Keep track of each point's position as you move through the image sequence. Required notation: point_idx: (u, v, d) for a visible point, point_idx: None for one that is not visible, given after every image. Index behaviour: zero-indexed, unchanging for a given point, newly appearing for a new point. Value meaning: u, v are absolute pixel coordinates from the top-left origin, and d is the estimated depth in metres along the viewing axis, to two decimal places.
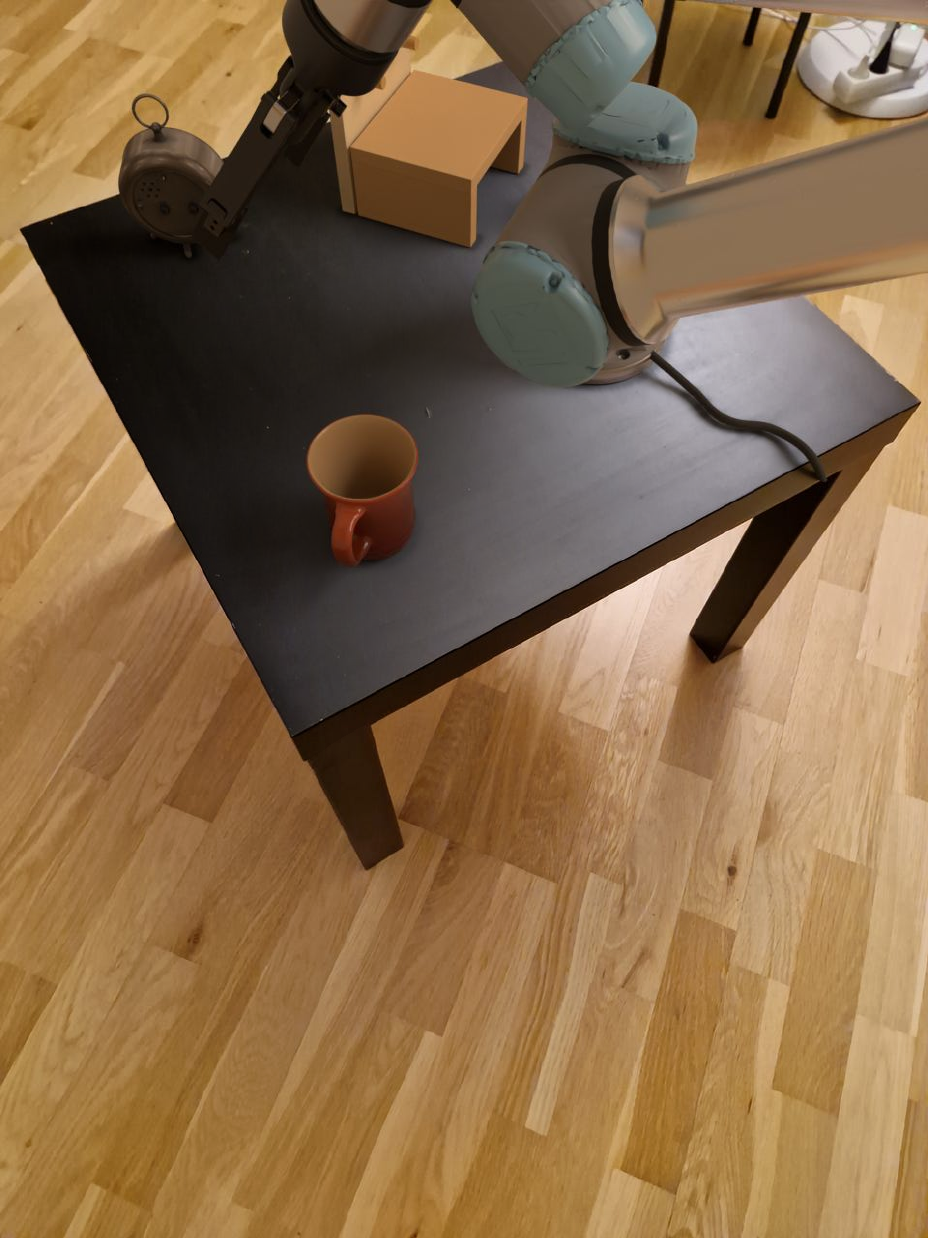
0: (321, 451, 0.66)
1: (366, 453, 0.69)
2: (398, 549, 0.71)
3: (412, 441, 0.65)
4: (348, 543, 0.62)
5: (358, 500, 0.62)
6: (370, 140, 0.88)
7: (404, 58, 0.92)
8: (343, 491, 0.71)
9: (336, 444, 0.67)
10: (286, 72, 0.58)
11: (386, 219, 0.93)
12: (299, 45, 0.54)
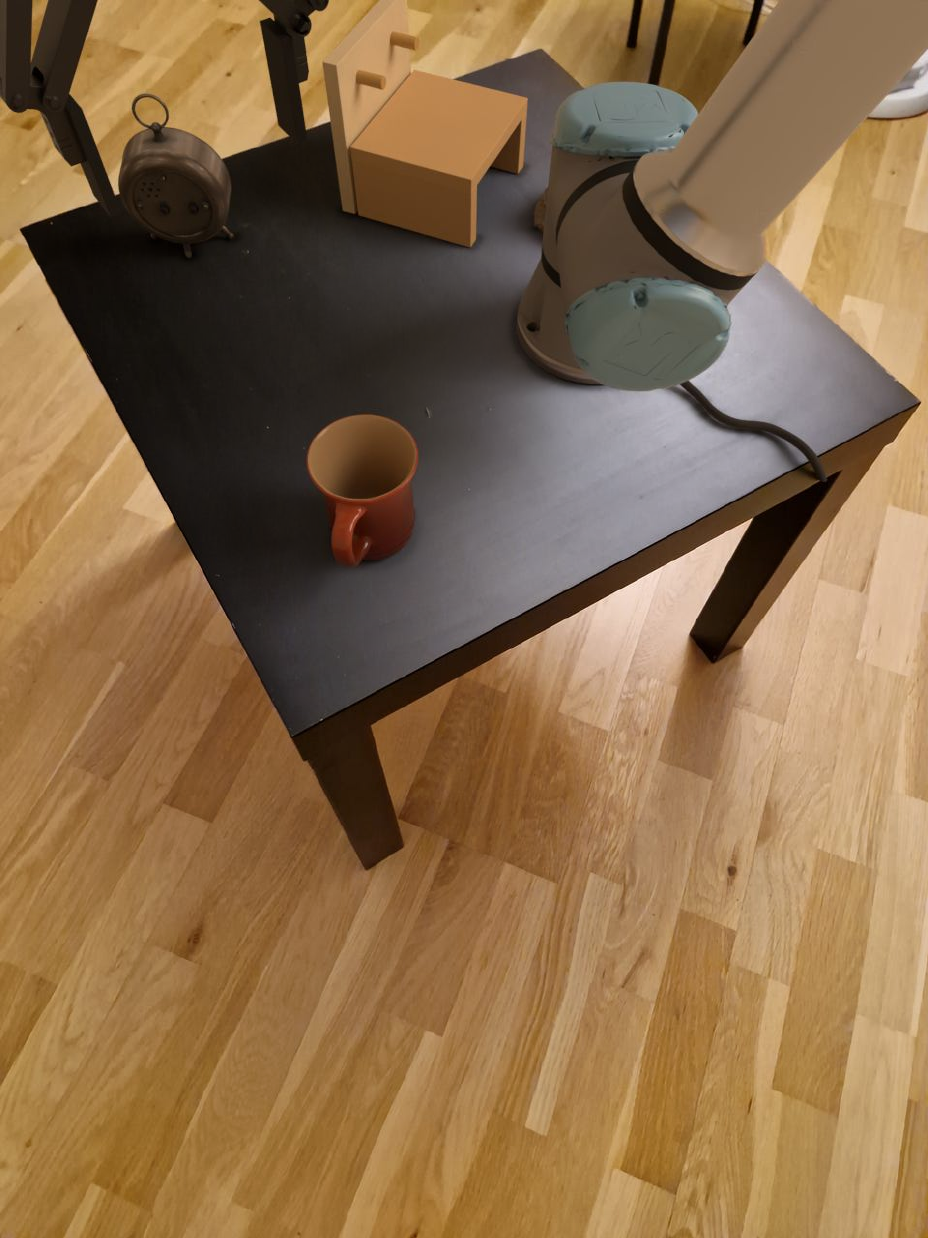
0: (321, 451, 0.66)
1: (366, 453, 0.69)
2: (398, 549, 0.71)
3: (412, 441, 0.65)
4: (348, 543, 0.62)
5: (358, 500, 0.62)
6: (370, 140, 0.88)
7: (404, 58, 0.92)
8: (343, 491, 0.71)
9: (336, 444, 0.67)
10: None
11: (386, 219, 0.93)
12: None
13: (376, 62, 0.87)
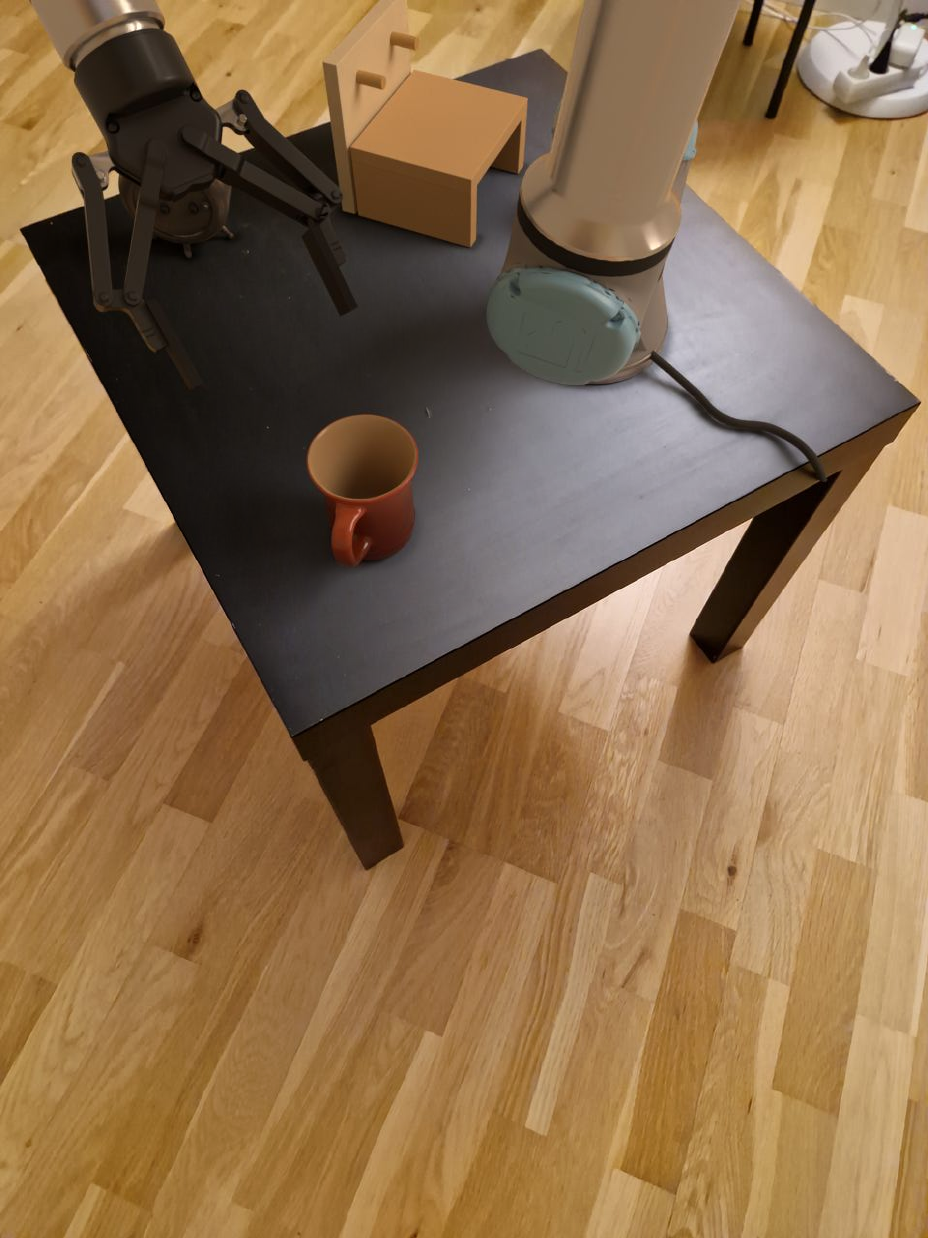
0: (321, 450, 0.66)
1: (366, 453, 0.69)
2: (398, 549, 0.71)
3: (412, 441, 0.65)
4: (348, 543, 0.62)
5: (358, 500, 0.62)
6: (370, 140, 0.88)
7: (404, 58, 0.92)
8: (343, 491, 0.71)
9: (336, 444, 0.67)
10: None
11: (386, 219, 0.93)
12: None
13: (376, 62, 0.87)
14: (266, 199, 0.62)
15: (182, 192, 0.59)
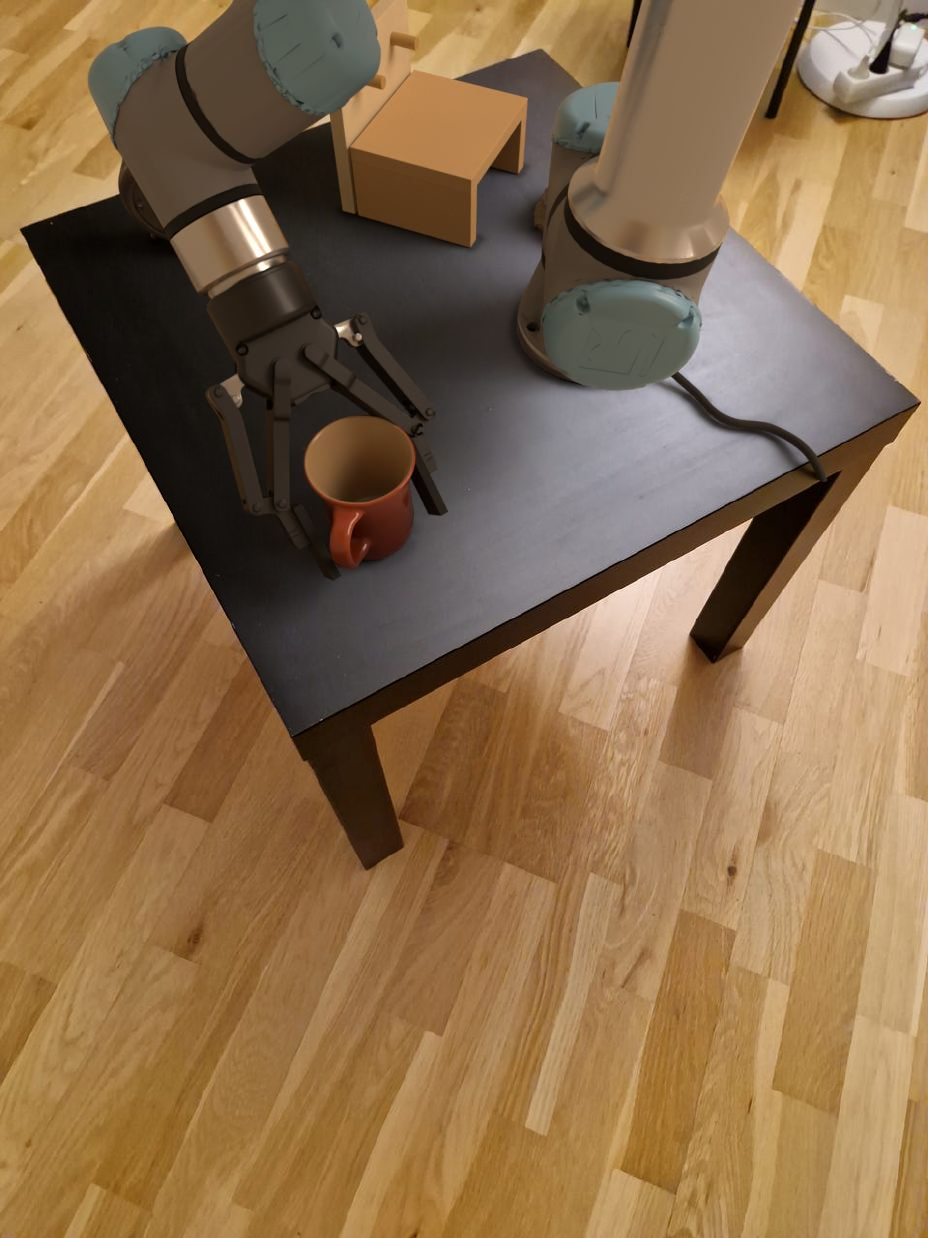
0: (317, 453, 0.66)
1: (363, 453, 0.69)
2: (397, 548, 0.71)
3: (409, 442, 0.65)
4: (346, 547, 0.62)
5: (355, 503, 0.62)
6: (370, 140, 0.88)
7: (404, 58, 0.92)
8: (341, 491, 0.70)
9: (332, 446, 0.67)
10: None
11: (386, 219, 0.93)
12: None
13: None
14: (367, 410, 0.66)
15: None
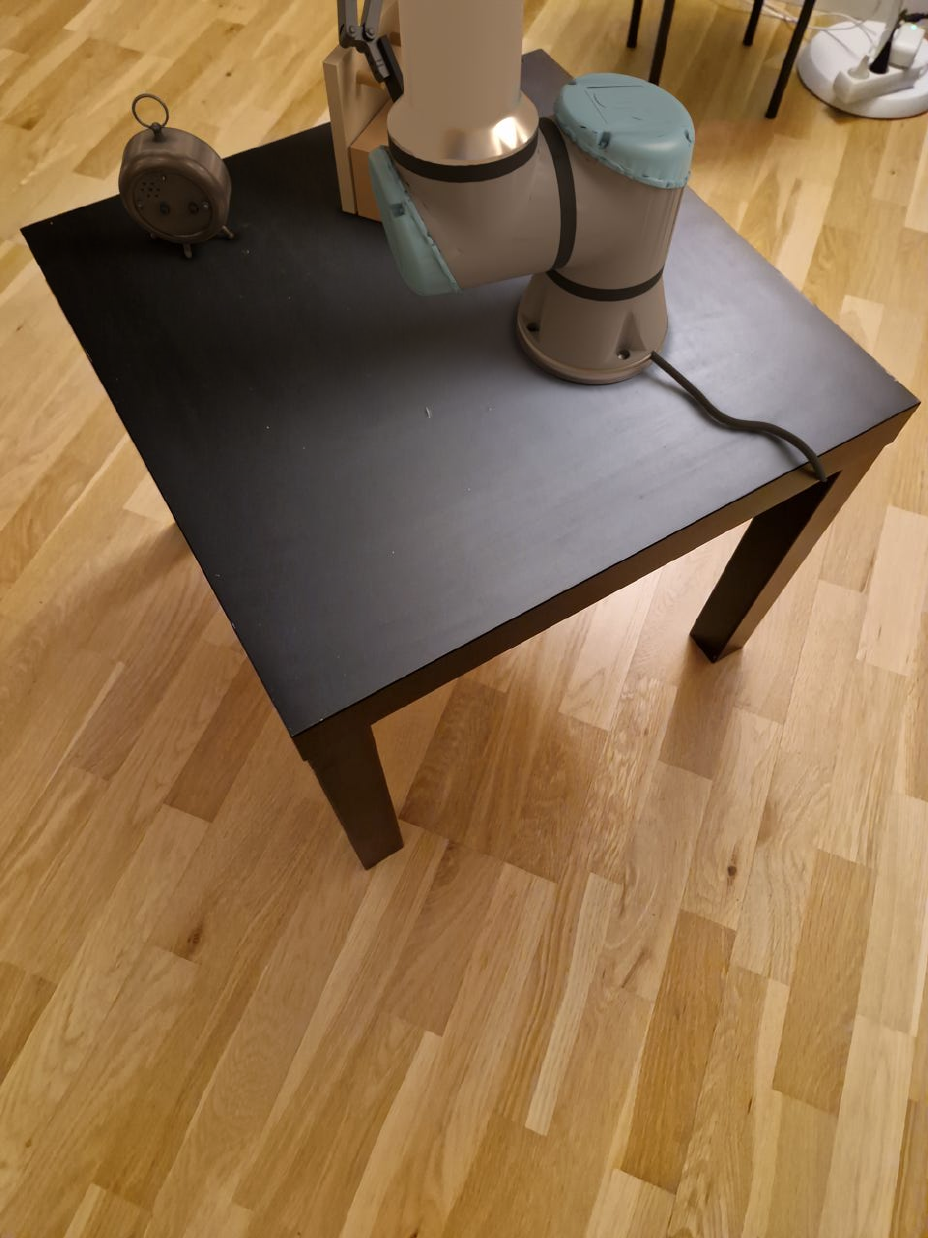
0: None
1: None
2: None
3: None
4: None
5: None
6: (370, 140, 0.88)
7: None
8: None
9: None
10: None
11: None
12: None
13: None
14: None
15: None
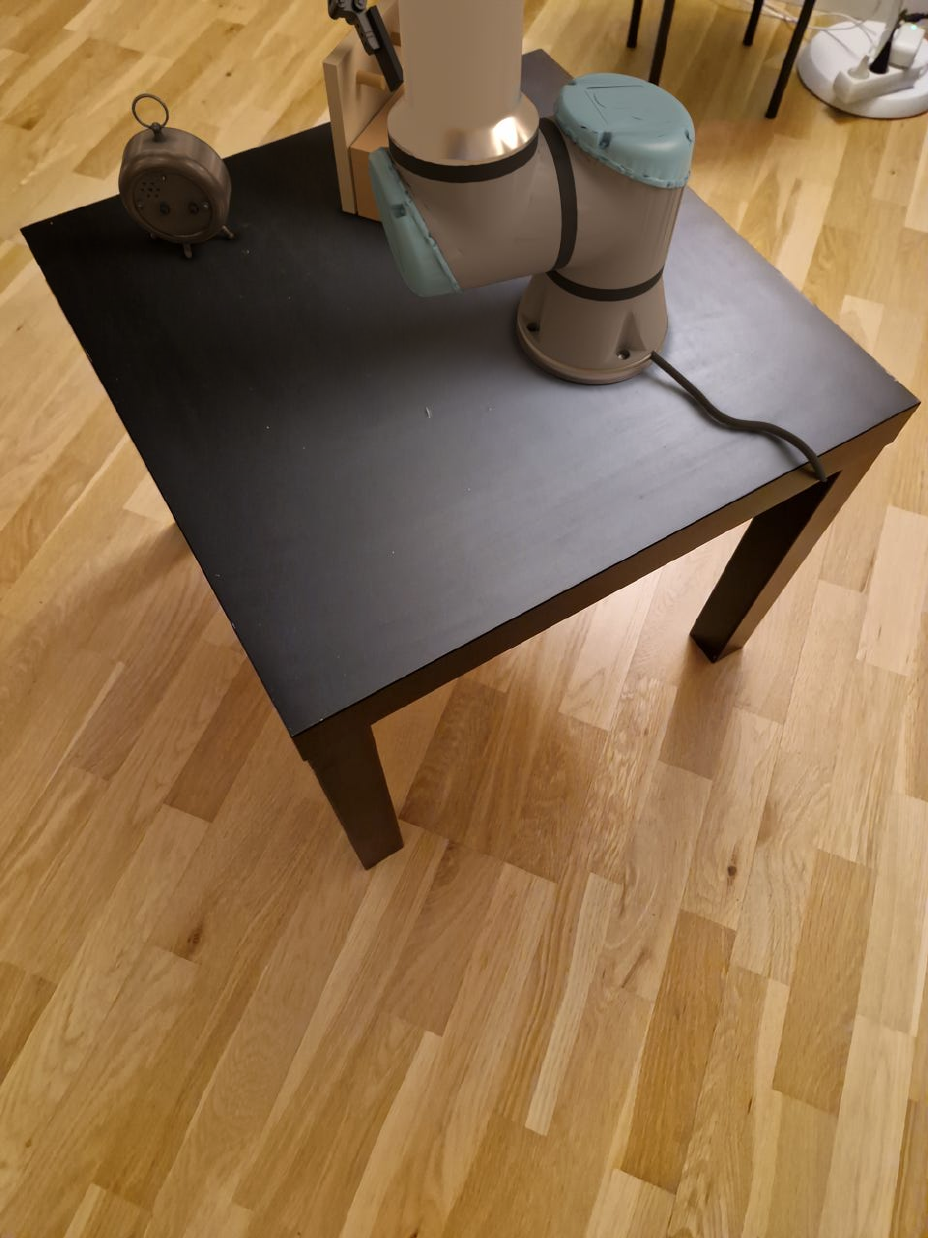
0: None
1: None
2: None
3: None
4: None
5: None
6: (370, 140, 0.88)
7: None
8: None
9: None
10: None
11: None
12: None
13: (376, 62, 0.87)
14: None
15: None
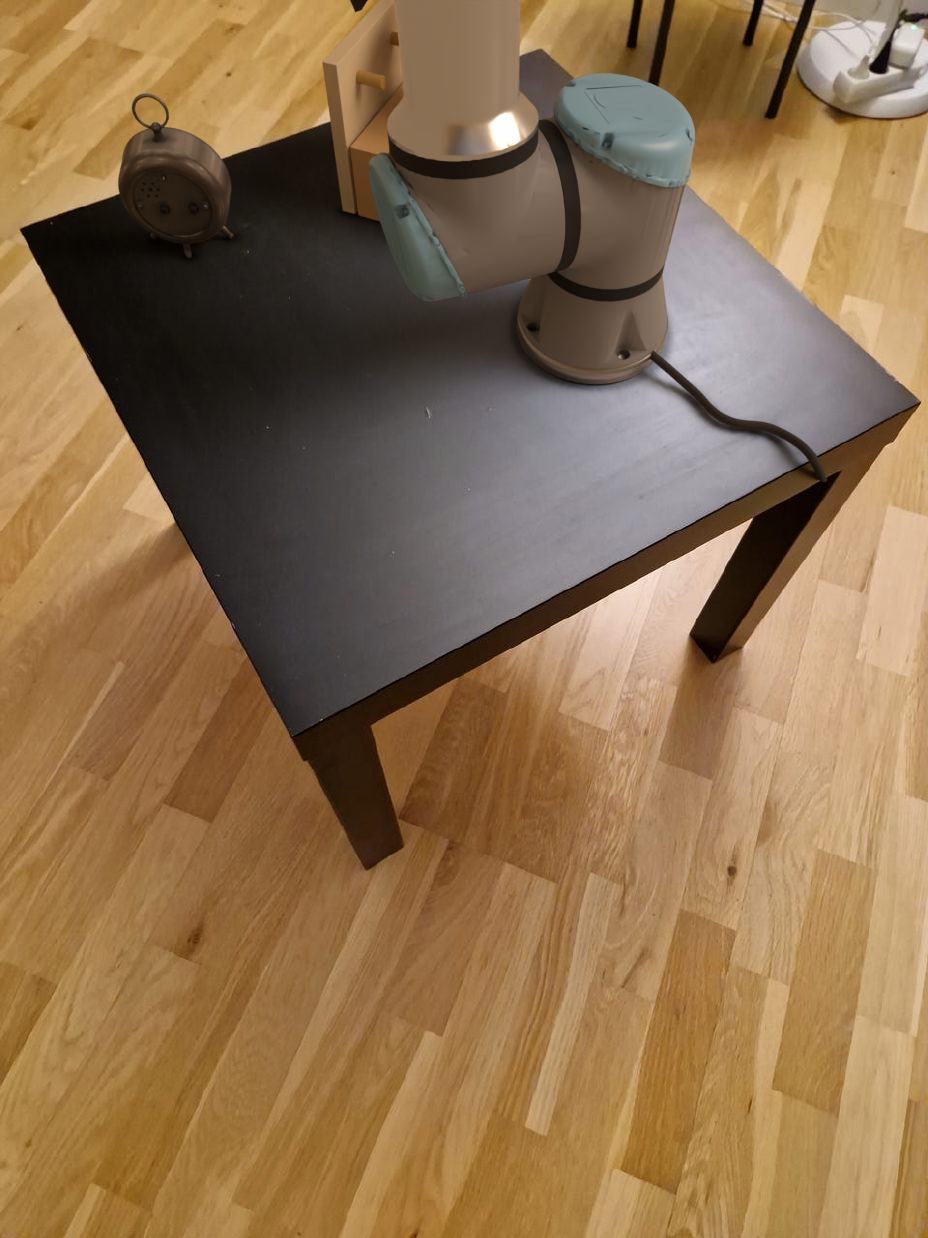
0: None
1: None
2: None
3: None
4: None
5: None
6: (370, 140, 0.88)
7: None
8: None
9: None
10: None
11: None
12: None
13: (376, 62, 0.87)
14: None
15: None
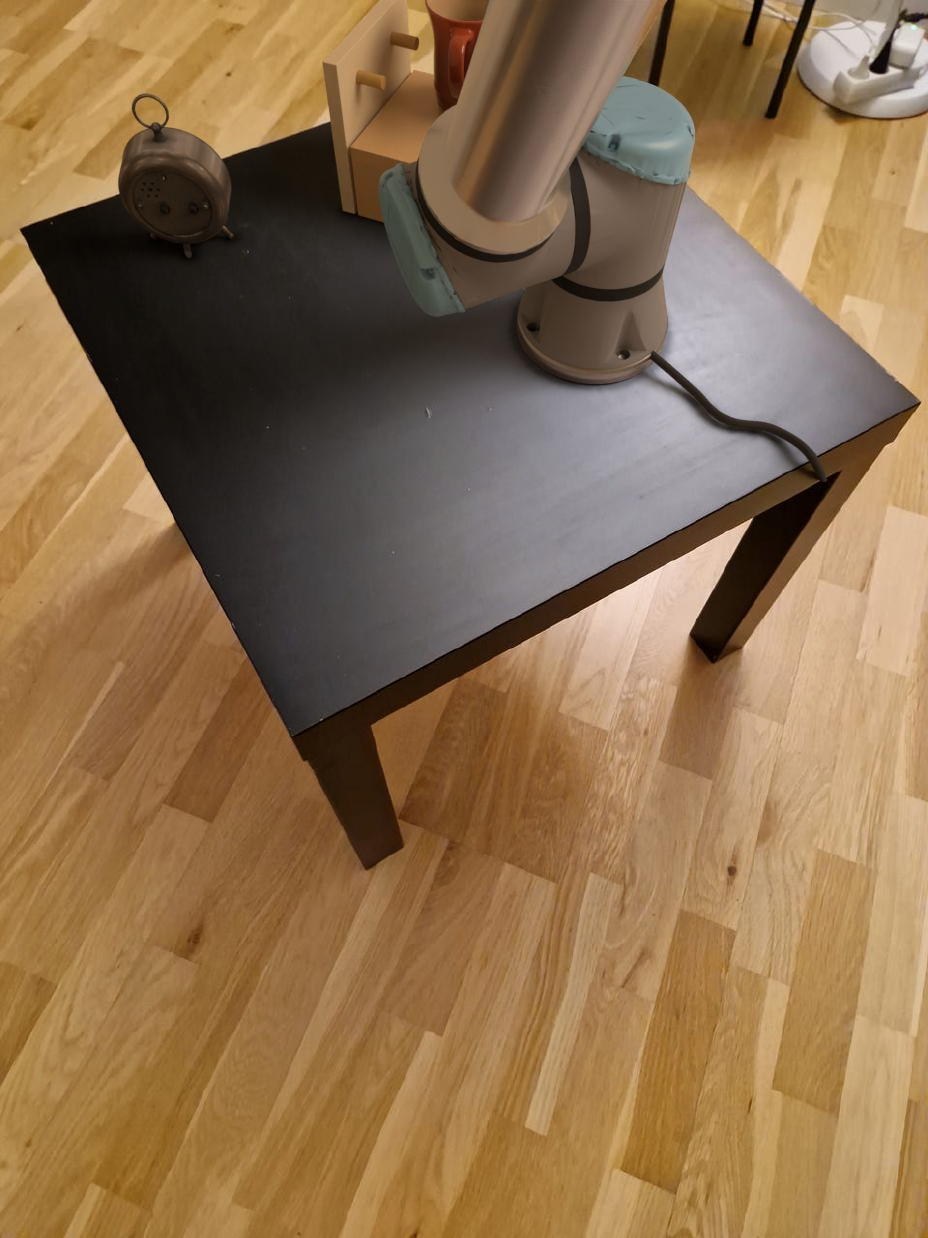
0: (434, 2, 0.83)
1: (466, 19, 0.86)
2: None
3: None
4: (462, 54, 0.80)
5: (469, 21, 0.80)
6: (370, 140, 0.88)
7: (404, 58, 0.92)
8: None
9: (444, 3, 0.85)
10: None
11: None
12: None
13: (376, 62, 0.87)
14: None
15: None
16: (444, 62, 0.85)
